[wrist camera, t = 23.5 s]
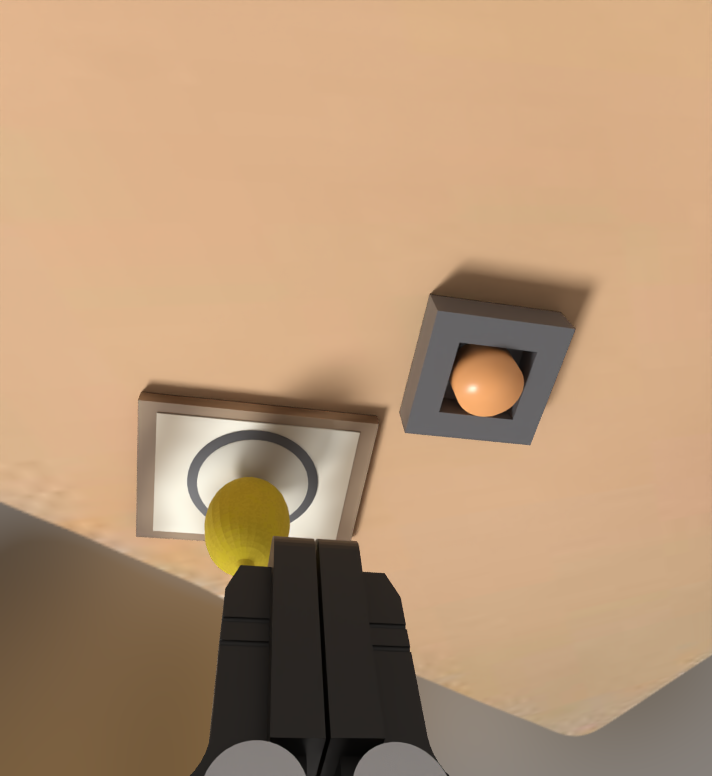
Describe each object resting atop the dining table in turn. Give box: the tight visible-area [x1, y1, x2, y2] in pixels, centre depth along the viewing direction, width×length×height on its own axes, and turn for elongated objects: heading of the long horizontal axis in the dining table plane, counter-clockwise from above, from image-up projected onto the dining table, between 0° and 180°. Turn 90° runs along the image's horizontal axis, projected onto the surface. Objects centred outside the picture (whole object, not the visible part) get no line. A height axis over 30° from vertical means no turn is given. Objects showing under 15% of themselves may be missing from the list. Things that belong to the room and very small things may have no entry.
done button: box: [449, 344, 524, 417], centre depth 42 cm, size 4×4×2 cm
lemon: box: [204, 477, 290, 576], centre depth 42 cm, size 6×6×8 cm
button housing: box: [399, 294, 575, 445], centre depth 42 cm, size 9×9×2 cm
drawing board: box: [136, 392, 379, 541], centre depth 46 cm, size 16×12×1 cm
